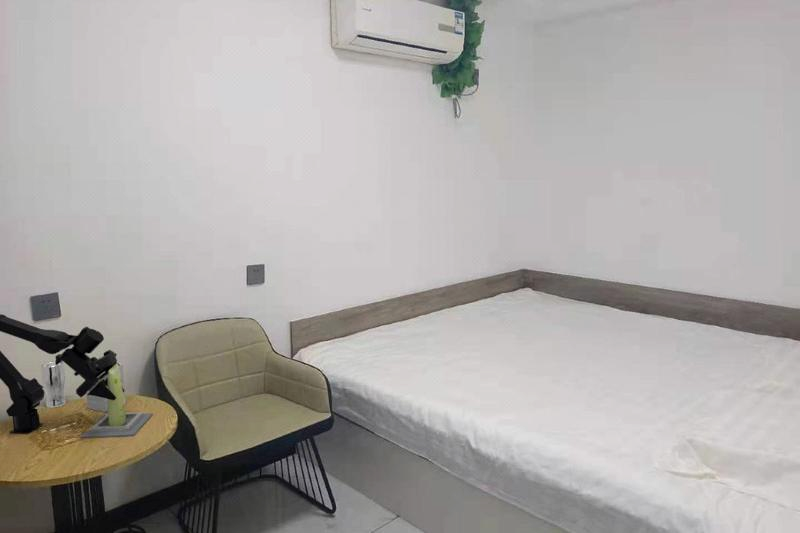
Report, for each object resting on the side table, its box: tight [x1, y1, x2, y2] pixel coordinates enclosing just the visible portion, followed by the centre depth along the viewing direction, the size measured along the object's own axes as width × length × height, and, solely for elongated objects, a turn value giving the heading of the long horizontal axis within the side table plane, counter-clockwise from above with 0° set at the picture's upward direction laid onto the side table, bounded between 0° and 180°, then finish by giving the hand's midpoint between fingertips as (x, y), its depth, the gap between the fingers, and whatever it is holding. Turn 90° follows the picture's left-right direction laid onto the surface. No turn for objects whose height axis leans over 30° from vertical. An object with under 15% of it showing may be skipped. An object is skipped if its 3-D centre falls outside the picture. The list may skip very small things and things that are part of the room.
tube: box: [107, 361, 126, 426], centre depth 176 cm, size 6×5×20 cm
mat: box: [79, 412, 154, 439], centre depth 177 cm, size 16×16×1 cm
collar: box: [91, 411, 144, 433], centre depth 177 cm, size 11×11×2 cm
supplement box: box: [85, 362, 127, 413], centre depth 192 cm, size 9×9×15 cm
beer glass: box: [40, 360, 67, 409], centre depth 194 cm, size 7×7×15 cm
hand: (119, 395), depth 176 cm, fingers closed on tube, 6 cm apart
